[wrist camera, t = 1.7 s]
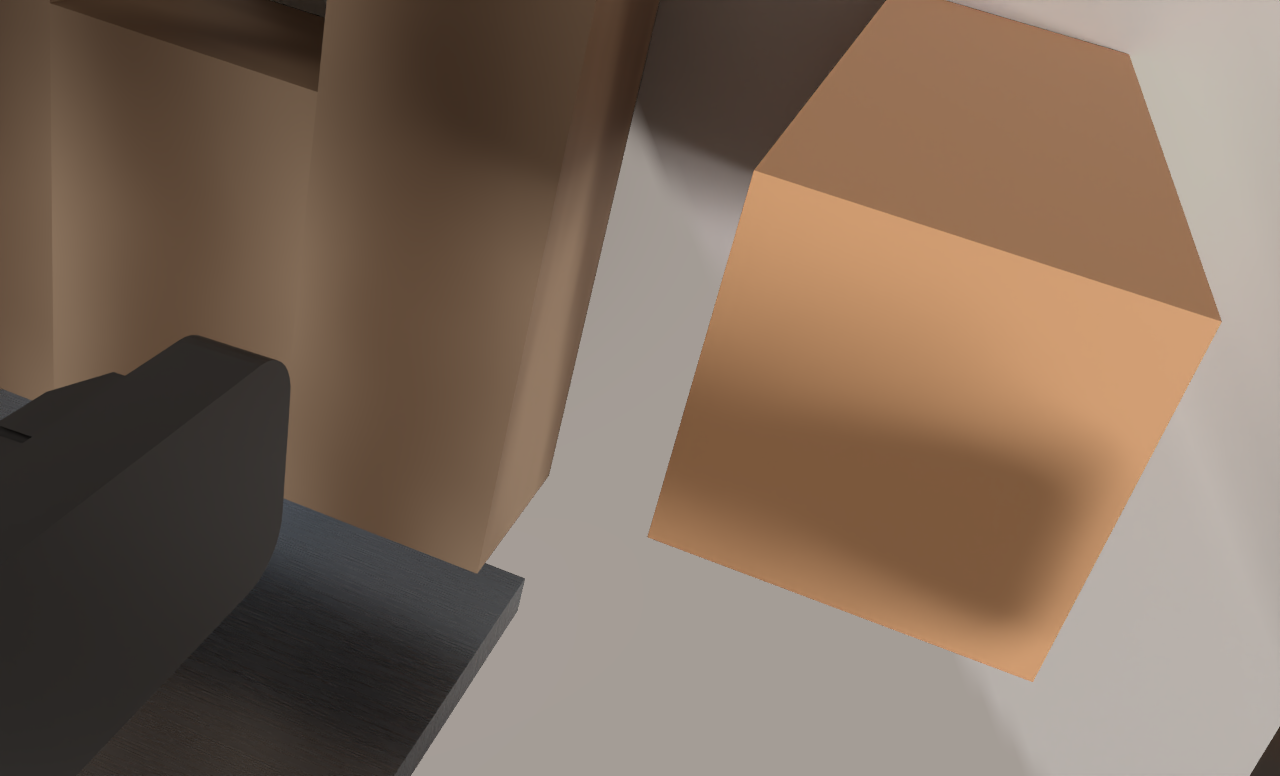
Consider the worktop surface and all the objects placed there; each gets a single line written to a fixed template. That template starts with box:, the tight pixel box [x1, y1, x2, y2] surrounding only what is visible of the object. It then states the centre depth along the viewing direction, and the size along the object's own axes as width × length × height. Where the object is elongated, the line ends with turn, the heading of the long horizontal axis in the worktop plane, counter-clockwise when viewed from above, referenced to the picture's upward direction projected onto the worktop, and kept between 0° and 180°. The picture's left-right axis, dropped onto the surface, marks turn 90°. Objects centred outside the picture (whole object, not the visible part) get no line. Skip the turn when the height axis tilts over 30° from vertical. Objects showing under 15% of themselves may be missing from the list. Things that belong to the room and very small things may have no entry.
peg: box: [648, 0, 1222, 682], centre depth 16 cm, size 4×4×12 cm
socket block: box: [0, 0, 660, 573], centre depth 23 cm, size 14×16×4 cm
